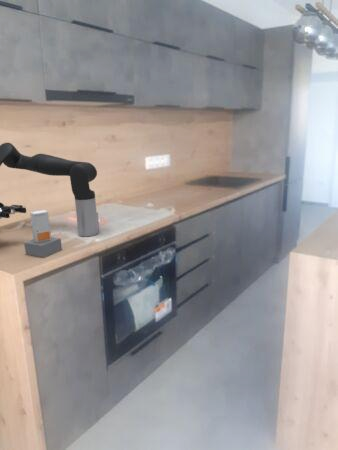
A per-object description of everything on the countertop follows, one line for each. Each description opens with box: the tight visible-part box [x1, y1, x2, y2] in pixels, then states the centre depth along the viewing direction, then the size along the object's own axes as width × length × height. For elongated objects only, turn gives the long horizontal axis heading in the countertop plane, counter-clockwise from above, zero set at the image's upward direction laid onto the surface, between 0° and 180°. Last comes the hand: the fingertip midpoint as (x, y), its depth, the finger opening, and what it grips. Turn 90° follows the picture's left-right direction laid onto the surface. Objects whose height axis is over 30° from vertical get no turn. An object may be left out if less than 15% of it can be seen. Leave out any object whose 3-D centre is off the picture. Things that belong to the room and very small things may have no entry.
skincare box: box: [29, 209, 52, 243], centre depth 148 cm, size 6×4×12 cm
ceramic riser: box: [23, 236, 63, 259], centre depth 150 cm, size 10×10×5 cm
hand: (17, 212), depth 152 cm, fingers open, 8 cm apart
